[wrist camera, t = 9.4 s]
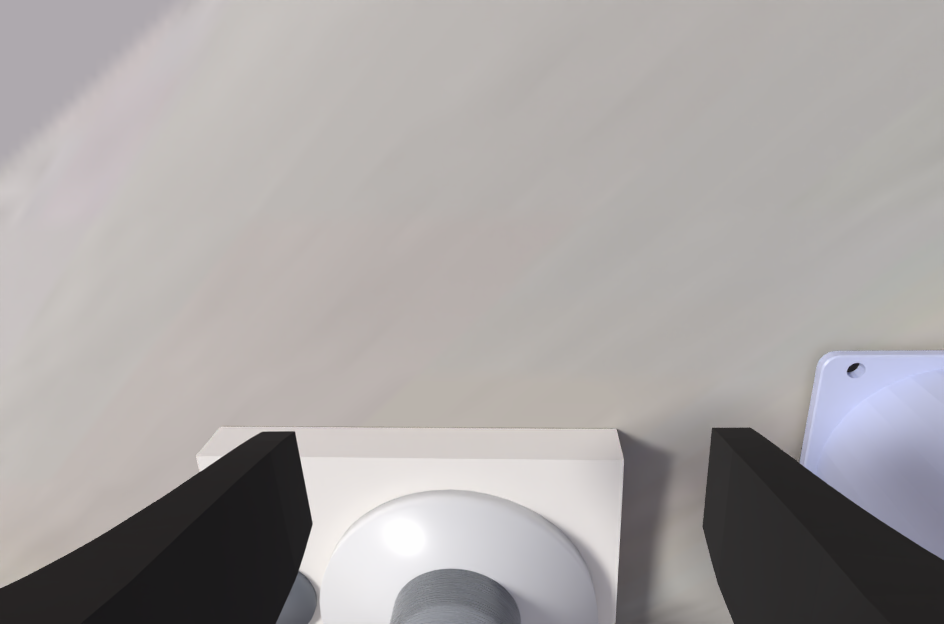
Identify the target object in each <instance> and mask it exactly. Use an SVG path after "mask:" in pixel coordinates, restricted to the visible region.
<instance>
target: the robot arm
mask: <svg viewBox="0 0 944 624" xmlns="http://www.w3.org/2000/svg"><path fill="white" fill-rule="evenodd" d="M854 363H859V366H858V368H857V369H856V370H854V371H853V372H847V369H848V368H849V366H851V365H852V364H854ZM312 525H313V522H312V517H311V512H310V507H309V501H308V496H307V491H306V486H305V481H304V476H303V470H302V465H301V460H300V455H299V450H298V444H297V439H296V434H295V431H267V432H261V433H259V434H257V435H255V436H253V437H252V438H250V439H248V440H247V441H245V442H244V443H242V444H241V445H239V446H238V447H236V448H235V449H233V450H232V451H230V452H229V453H227V454H226V455H224V456H223V457H221V458H220V459H218V460H217V461H215V462H214V463H212V464H211V465H209V466H208V467H207V468H205V469H204V470H202V471H201V472H199V473H198V474H196V475H195V476H193V477H192V478H190V479H189V480H187V481H186V482H184V483H183V484H181V485H180V486H178V487H177V488H175V489H174V490H173V491H171V492H170V493H168V494H167V495H165V496H164V497H162V498H160V499H159V500H157V501H156V502H154V503H152V504H151V505H149V506H148V507H146V508H144V509H143V510H141V511H140V512H138V513H136V514H135V515H133V516H132V517H130V518H129V519H127V520H125V521H124V522H122V523H121V524H119V525H117V526H116V527H114V528H113V529H111V530H109V531H108V532H106V533H104V534H103V535H101V536H99V537H98V538H96V539H94V540H92V541H91V542H89V543H87V544H85V545H84V546H82V547H80V548H78V549H77V550H75V551H73V552H71V553H69V554H67V555H66V556H64V557H62V558H60V559H58V560H56V561H54V562H52V563H51V564H49V565H47V566H45V567H43V568H41V569H39V570H37V571H36V572H34V573H32V574H30V575H28V576H26V577H24V578H22V579H20V580H18V581H15V582H13V583H11V584H9V585H7V586H5V587H3V588H0V624H276V622H277V620H278V618H279V616H280V613H281V611H282V609H283V607H284V604H285V602H286V600H287V598H288V596H289V593H290V591H291V589H292V587H293V584H294V582H295V580H296V577H297V574H298V571H299V568H300V565H301V562H302V559H303V556H304V553H305V549H306V546H307V542H308V539H309V535H310V532H311V528H312ZM703 530H704V534H705V538H706V541H707V545H708V549H709V553H710V557H711V561H712V564H713V568H714V571H715V575H716V578H717V582H718V585H719V587H720V590H721V593H722V595H723V598H724V600H725V603H726V605H727V608H728V610H729V612H730V615H731V617H732V620H733V622H734V624H944V350H914V351H833V352H829V353H827V354H825V355H823V356H822V358H821V359H820V360H819V362H818V364H817V368H816V373H815V379H814V384H813V390H812V396H811V401H810V407H809V412H808V418H807V424H806V429H805V435H804V440H803V446H802V451H801V457H800V463H799V462H797V461H796V460H795V459H793V458H792V457H791V456H789V455H788V454H786V453H785V452H784V451H782V450H781V449H780V448H778V447H777V446H776V445H774V444H773V443H772V442H770V441H769V440H767V439H766V438H765V437H763V436H762V435H760V434H759V433H758V432H756V431H755V430H753V429H751V428H712V435H711V445H710V456H709V466H708V476H707V487H706V497H705V508H704V518H703Z"/></svg>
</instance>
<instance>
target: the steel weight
mask: <svg viewBox="0 0 944 624" xmlns="http://www.w3.org/2000/svg"><path fill="white" fill-rule="evenodd" d="M390 624H521V617H520V611H519V608H518V606H517V604H516V602H515V600H514V598H513V597H512V596H511V594H510V593H509V592H508V591H507V590H506V589H505V588H504V587H503V586H501V585H500V584H499V583H497V582H496V581H494V580H493V579H491V578H489V577H487V576H485V575H482V574H480V573H477V572H473V571H469V570H463V569H451V568H450V569H439V570H433V571H430V572H426V573H424V574H421V575H419V576H417V577H415V578H414V579H412V580H411V581H409V582H408V583H407V584H406V585H405V586H404V587H403V588H402V589H401V591H400V592H399V593H398V595H397V597H396V600H395V603H394V607H393V611H392V616H391V620H390Z"/></svg>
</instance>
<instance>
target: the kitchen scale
mask: <svg viewBox="0 0 944 624" xmlns="http://www.w3.org/2000/svg"><path fill="white" fill-rule="evenodd" d="M267 431H295V434H296V439H297V444H298V450H299V455H300V460H301V465H302V470H303V476H304V481H305V486H306V491H307V496H308V501H309V507H310V512H311V517H312V522H313V525H312V528H311V532H310V535H309V539H308V542H307V546H306V549H305V553H304V556H303V559H302V562H301V565H300V568H299V571H298V574H297V577H296V580H295V582H294V584H293V587H292V589H291V591H290V593H289V596H288V598H287V600H286V602H285V604H284V607H283V609H282V611H281V613H280V616H279V618H278V620H277V622H276V624H390V620H391V616H392V611H393V607H394V603H395V600H396V597H397V595H398V593H399V592H400V591H401V589H402V588H403V587H404V586H405V585H406V584H407V583H408V582H409V581H411V580H412V579H414V578H415V577H417V576H419V575H421V574H424V573H426V572H430V571H433V570H439V569H450V568H451V569H463V570H469V571H473V572H477V573H480V574H482V575H485V576H487V577H489V578H491V579H493V580H494V581H496V582H497V583H499V584H500V585H501V586H503V587H504V588H505V589H506V590H507V591H508V592H509V593H510V594H511V596H512V597H513V598H514V600H515V602H516V604H517V606H518V608H519V611H520V617H521V624H615V619H616V601H617V583H618V564H619V546H620V528H621V509H622V491H623V473H624V458H623V454H622V450H621V445H620V441H619V437H618V433H617V429H540V428H374V427H220V428H219V429H218V430H217V431H216V432H215V434H214V435H213V436H212V437H211V438H210V439H209V441H208V442H207V443H206V444H205V445H204V447H203V448H202V449H201V450H200V451H199V453H198V454H197V455H196V459H197V463H198V467H199V471H200V472H201V471H202V470H204V469H205V468H207V467H208V466H209V465H211V464H212V463H214V462H215V461H217V460H218V459H220V458H221V457H223V456H224V455H226V454H227V453H229V452H230V451H232V450H233V449H235V448H236V447H238V446H239V445H241V444H242V443H244V442H245V441H247V440H248V439H250V438H252V437H253V436H255V435H257V434H259V433H261V432H267Z"/></svg>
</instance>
